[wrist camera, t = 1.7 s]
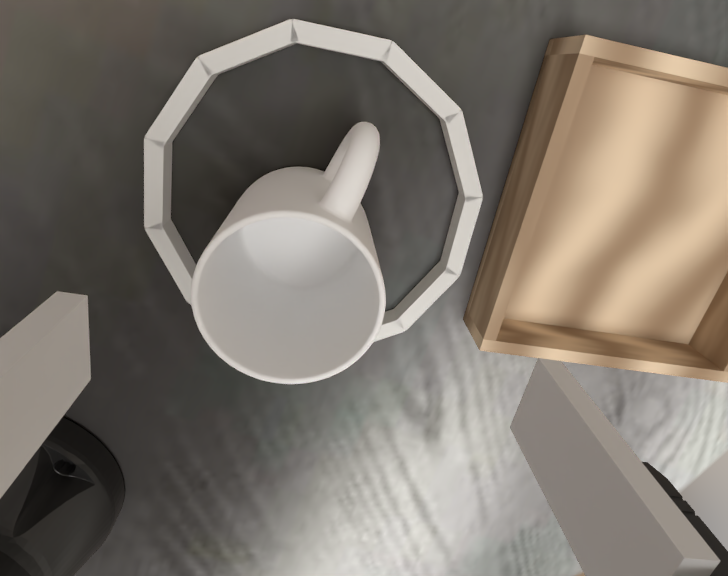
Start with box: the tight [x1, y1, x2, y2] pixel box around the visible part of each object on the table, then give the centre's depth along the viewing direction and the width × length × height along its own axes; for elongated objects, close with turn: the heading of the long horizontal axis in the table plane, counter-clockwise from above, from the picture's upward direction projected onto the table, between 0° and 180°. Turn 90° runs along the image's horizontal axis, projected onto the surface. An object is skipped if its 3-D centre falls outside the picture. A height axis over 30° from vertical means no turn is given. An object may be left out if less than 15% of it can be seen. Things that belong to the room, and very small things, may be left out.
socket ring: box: [144, 19, 483, 342], centre depth 28 cm, size 19×19×2 cm
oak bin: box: [463, 35, 728, 383], centre depth 29 cm, size 18×18×4 cm
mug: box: [191, 122, 386, 384], centre depth 24 cm, size 12×8×10 cm
